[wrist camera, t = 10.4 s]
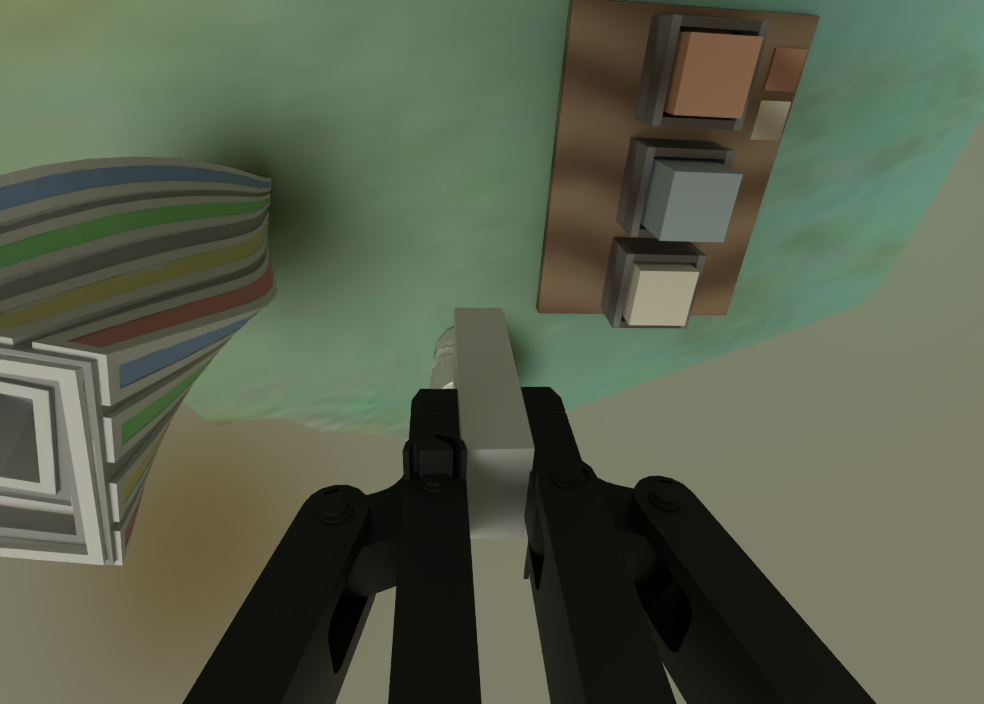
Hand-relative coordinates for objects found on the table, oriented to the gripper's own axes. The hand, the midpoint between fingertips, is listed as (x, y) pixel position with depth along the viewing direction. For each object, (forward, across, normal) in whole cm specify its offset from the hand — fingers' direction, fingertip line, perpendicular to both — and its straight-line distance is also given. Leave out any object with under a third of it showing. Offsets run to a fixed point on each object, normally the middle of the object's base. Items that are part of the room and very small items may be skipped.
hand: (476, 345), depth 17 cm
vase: (+30, -17, -4) cm, 34 cm away
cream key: (+28, +17, -9) cm, 34 cm away
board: (+29, +17, -1) cm, 34 cm away
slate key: (+26, +17, -1) cm, 31 cm away
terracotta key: (+28, +17, +7) cm, 33 cm away
